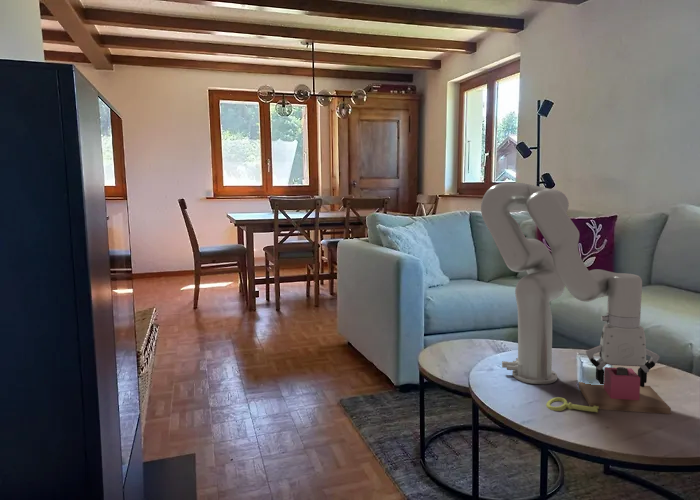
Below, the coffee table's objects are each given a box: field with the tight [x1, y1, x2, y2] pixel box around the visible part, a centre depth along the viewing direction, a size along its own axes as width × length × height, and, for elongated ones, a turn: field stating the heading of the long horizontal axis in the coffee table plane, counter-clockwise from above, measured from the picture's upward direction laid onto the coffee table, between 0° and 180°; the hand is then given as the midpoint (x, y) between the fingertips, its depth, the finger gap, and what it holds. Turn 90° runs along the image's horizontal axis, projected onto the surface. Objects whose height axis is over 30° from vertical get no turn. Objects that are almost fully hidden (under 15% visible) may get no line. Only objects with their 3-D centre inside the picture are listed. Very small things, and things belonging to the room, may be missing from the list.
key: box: [545, 396, 599, 413], centre depth 123 cm, size 7×12×2 cm, turn 71°
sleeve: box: [603, 366, 640, 400], centre depth 126 cm, size 7×7×6 cm
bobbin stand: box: [578, 366, 672, 415], centre depth 126 cm, size 18×14×8 cm
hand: (620, 383), depth 126 cm, fingers open, 9 cm apart
